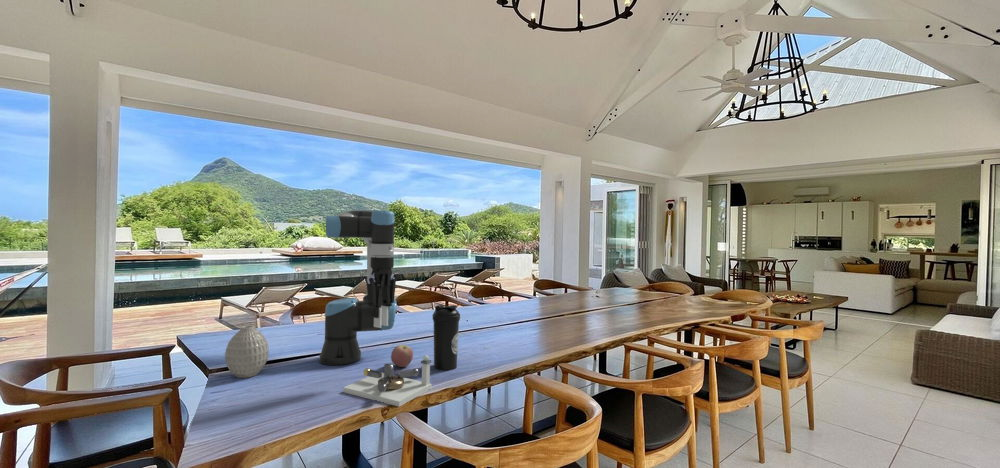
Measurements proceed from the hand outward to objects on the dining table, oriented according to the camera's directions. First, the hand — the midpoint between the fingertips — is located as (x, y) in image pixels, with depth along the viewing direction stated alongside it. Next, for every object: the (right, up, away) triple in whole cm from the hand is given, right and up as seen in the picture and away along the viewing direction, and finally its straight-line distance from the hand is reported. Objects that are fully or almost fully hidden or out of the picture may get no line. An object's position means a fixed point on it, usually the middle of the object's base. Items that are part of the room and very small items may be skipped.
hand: (380, 326), depth 141 cm
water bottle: (+20, -19, +16) cm, 32 cm away
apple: (+4, -19, +15) cm, 24 cm away
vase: (-47, -18, +3) cm, 50 cm away
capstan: (+3, -17, -7) cm, 18 cm away
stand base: (+5, -19, -8) cm, 21 cm away
